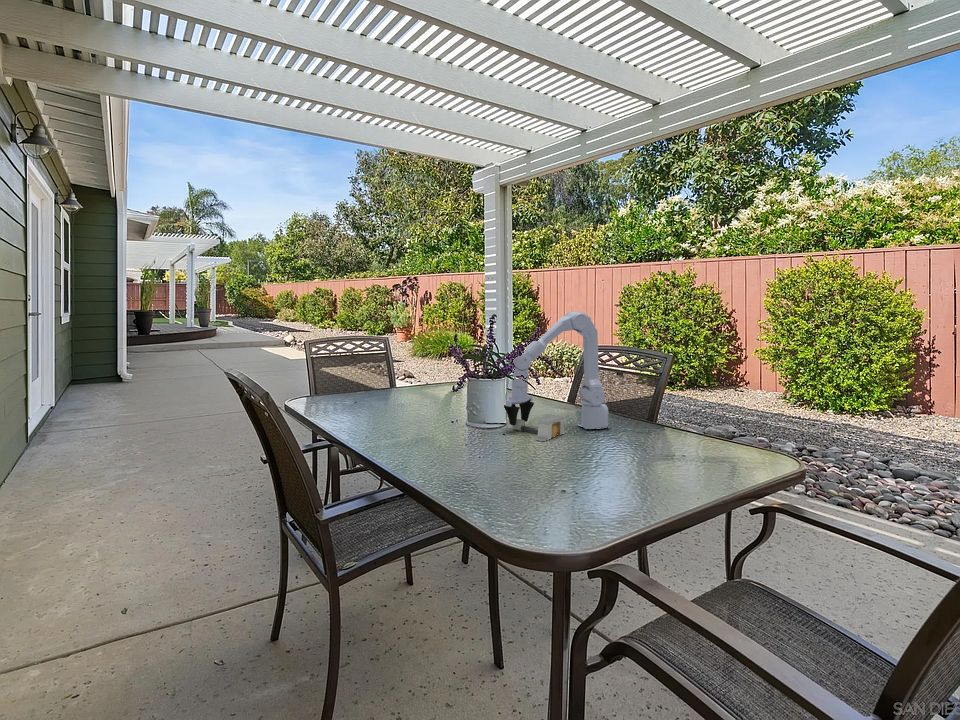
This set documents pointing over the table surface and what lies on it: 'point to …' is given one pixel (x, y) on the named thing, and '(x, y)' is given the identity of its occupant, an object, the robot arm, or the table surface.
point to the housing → (549, 427)
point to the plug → (521, 426)
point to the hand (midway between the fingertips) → (518, 423)
